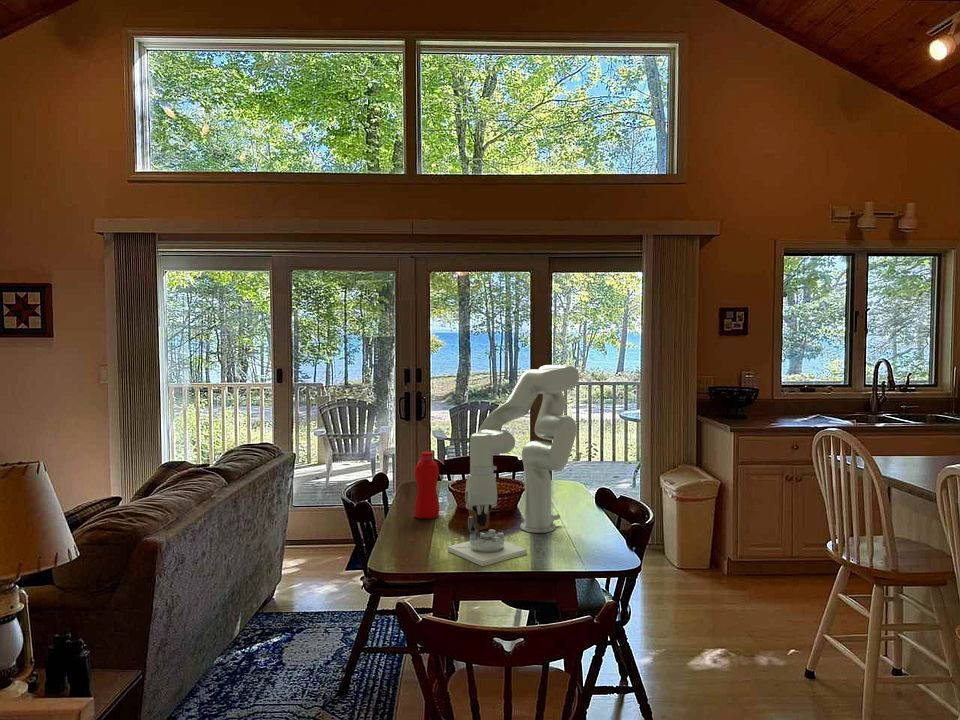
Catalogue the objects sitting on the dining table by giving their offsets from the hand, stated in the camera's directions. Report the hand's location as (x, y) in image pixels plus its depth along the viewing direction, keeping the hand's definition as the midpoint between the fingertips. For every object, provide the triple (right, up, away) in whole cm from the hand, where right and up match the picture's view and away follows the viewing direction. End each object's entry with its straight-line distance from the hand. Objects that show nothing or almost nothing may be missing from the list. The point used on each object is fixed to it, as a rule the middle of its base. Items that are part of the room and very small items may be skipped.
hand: (481, 525), depth 211 cm
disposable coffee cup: (-1, -6, +20) cm, 21 cm away
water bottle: (-21, -6, +36) cm, 42 cm away
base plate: (+2, -7, -7) cm, 10 cm away
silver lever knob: (+1, -5, -6) cm, 8 cm away
